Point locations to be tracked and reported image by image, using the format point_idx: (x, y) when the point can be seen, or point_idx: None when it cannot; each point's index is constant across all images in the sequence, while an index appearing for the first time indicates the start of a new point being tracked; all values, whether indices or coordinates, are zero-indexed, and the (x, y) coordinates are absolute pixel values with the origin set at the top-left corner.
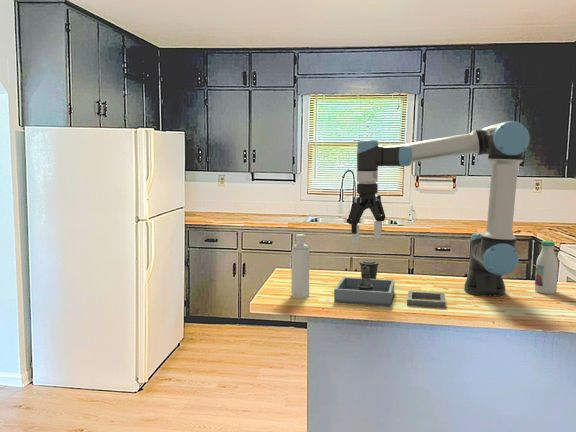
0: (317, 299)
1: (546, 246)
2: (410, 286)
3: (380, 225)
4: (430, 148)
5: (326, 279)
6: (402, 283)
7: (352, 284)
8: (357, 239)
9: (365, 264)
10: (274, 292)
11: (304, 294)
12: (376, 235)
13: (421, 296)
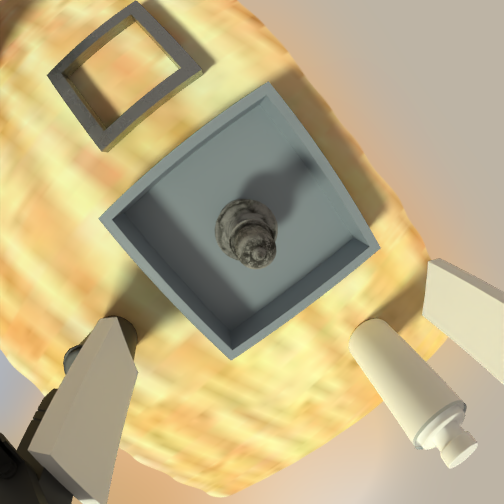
0: (364, 291)
1: None
2: (27, 242)
3: (62, 411)
4: None
5: (190, 425)
6: (27, 282)
7: (213, 321)
8: (458, 271)
9: (263, 256)
10: None
11: (381, 322)
12: (123, 368)
13: (93, 111)
